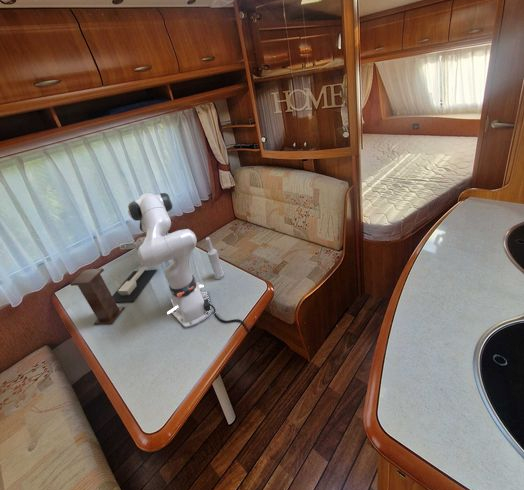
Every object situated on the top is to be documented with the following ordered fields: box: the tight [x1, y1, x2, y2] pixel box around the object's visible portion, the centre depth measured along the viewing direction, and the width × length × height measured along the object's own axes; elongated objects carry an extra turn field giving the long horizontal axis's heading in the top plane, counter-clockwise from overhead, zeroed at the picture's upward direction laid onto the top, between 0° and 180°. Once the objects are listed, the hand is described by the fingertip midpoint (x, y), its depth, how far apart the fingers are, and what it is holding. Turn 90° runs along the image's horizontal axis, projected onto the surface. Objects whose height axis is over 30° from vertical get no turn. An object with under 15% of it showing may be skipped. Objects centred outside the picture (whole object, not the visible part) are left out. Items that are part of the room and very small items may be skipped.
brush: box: [117, 265, 148, 295], centre depth 158 cm, size 22×6×3 cm, turn 171°
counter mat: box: [112, 269, 157, 304], centre depth 156 cm, size 26×16×1 cm, turn 172°
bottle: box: [205, 236, 225, 281], centre depth 144 cm, size 5×5×25 cm
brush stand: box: [69, 267, 125, 325], centre depth 132 cm, size 10×10×26 cm
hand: (127, 245), depth 155 cm, fingers open, 8 cm apart
